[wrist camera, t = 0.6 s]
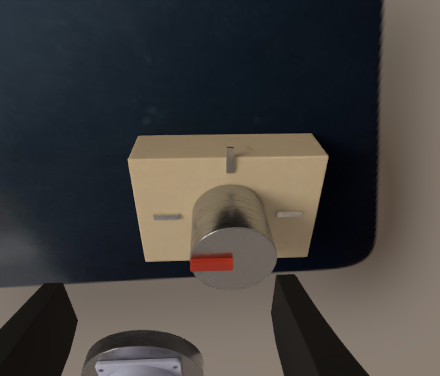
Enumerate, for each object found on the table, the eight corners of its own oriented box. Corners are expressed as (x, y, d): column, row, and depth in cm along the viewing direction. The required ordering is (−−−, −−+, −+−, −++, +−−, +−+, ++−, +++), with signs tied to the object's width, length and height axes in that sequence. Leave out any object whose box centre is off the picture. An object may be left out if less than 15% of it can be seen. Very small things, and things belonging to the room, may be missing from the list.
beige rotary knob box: (313, 122, 18) (333, 146, 15) (294, 232, 22) (306, 266, 20) (136, 124, 17) (124, 149, 15) (152, 236, 22) (146, 271, 19)
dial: (267, 183, 16) (283, 231, 13) (261, 241, 18) (274, 294, 15) (190, 184, 16) (187, 233, 13) (193, 242, 18) (191, 297, 15)
